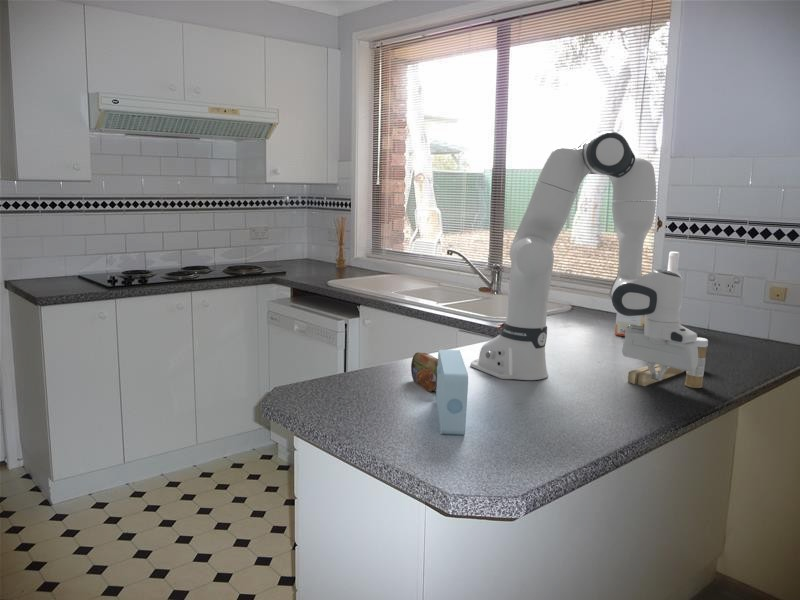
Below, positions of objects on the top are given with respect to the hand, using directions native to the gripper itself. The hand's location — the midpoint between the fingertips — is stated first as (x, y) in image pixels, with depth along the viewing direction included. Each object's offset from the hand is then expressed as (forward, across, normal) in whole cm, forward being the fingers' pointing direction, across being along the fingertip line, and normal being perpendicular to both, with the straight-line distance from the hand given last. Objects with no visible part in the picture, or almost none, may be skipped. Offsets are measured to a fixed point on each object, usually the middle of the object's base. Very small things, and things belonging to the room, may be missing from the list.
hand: (656, 379), depth 188 cm
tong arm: (+2, -2, +9) cm, 9 cm away
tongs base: (+2, -5, +10) cm, 11 cm away
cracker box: (+2, -35, +53) cm, 63 cm away
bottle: (+2, -34, +74) cm, 81 cm away
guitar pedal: (+2, -16, -65) cm, 67 cm away
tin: (+2, -35, -53) cm, 64 cm away
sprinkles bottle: (+2, +7, +8) cm, 11 cm away
